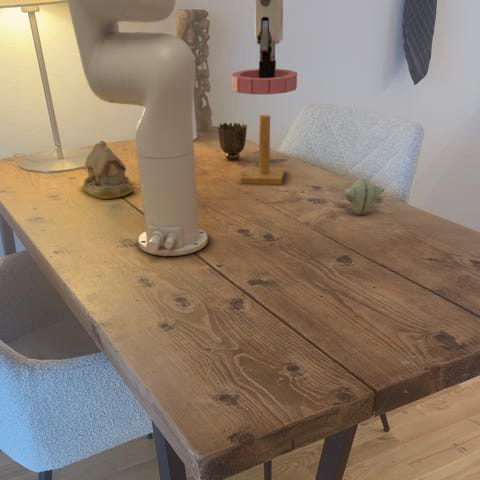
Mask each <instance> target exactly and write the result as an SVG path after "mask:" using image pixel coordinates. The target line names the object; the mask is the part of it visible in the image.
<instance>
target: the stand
mask: <svg viewBox="0 0 480 480" xmlns="http://www.w3.org/2000/svg"><path fill="white" fill-rule="evenodd" d="M258 119H259V120H258V121H259V126H258V127H259V129H258V130H259V131H258V140H259V141H258V167H256V166H253V167H251V166H248V167H247V168H246V170H245V173H244V174H243V177H242V184H249V185H251V184H252V185H253V184H254V185H257V184H258V185H282V184H283V180H284V176H285V172H286V169H285V167H270V157H271V153H270V151H271V115H270V114H260V115H259V117H258Z"/></svg>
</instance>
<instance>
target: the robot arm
mask: <svg viewBox="0 0 480 480" xmlns="http://www.w3.org/2000/svg"><path fill="white" fill-rule="evenodd" d="M176 2H177V1H176V0H67V5H68V9H69V14H70V18H71V23H72V27H73V32H74V35H75V39H76V44H77V49H78V53H79V57H80V61H81V67H82V70H83V74H84V77H85V80H86V82H87V85H88V87H89V89H90V90H91V92H92V93H93V95H94V96H95V97H96V98H97V99H99V100H101V101H102V102H104V103H105V102H106V103H109V104H117V105H129V106H130V105H131V106H138V107H143V112H142V115H141V117H140V119H139V121H138V124H137V126H136V129H135V132H134V133H135V134H134V148H135V154H136V162H137V170H138V178H139V179H138V180H139V187H140V194H141V205H142V211H143V212H142V213H143V220H144V228H145V229H144V230H145V231H144V232H142V233H141V234H140V235H139V236H138V239H137V242H138V247H139V249H141V251H143V252H145V253H147V254H150V255H155V256H159V257H161V256H162V257H177V256H185V255H190V254H193V253H196V252H197V251H198V252H199V251H200V250H202V249H203V248H205V247H206V246H207V244H208V242H209V241H208V240H209V236H208V234H207V231H205V230H204V229H201V228H199V227H200V226H199V211H198V198H197V197H198V196H197V181H196V180H197V179H196V164H195V150H194V130H193V109H194V107H193V106H194V96H195V95H194V94H195V84H196V61H195V56H194V53H193V51H192V49H191V47H190V46H189V45H188V43H187V42H185V40H183V39H181V38H180V37H179V36H176V35H174V34H173V35H172V34H170V33H164V32H143V31H142V32H141V31H140V32H138V31H134V32H127V31H125V32H123V31H120V26H119V23H133V24H134V23H136V24H137V23H138V24H140V23H143V24H144V23H145V24H146V23H157V22H161V21H164V20H166V19H168V18H169V17H170V16H171V15H172V13H173V12H174V10H175V7H176ZM254 38H255V39H254V40H255V43H256V44H257V45H259V61H258V69H259V78H274V69H277V67H276V66H277V60H276V45H279V44H280V43H281V42H282V41H283V38H284V0H254Z"/></svg>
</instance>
